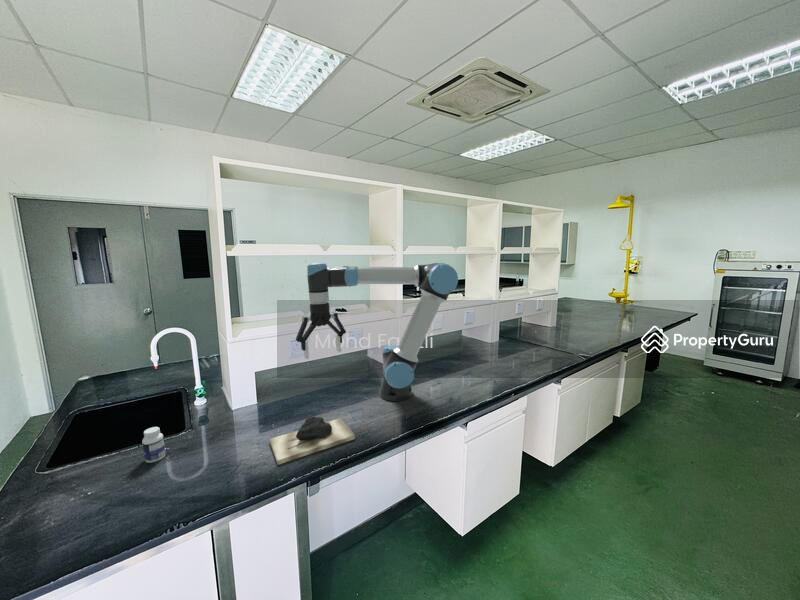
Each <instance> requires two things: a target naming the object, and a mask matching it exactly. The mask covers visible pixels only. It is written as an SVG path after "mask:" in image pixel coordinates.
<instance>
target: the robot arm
mask: <svg viewBox="0 0 800 600" xmlns="http://www.w3.org/2000/svg"><path fill="white" fill-rule="evenodd" d="M306 274H307V275H306V277H307V286H308V300H309V303H310V304H309V314H310V316H306V315H305V316H304V315H303V316H302V321H301V324H300V326H299V328H298V332H297V334H296V337H295V341H296V342H297V343H300V347H301V350H302V351H303V355H304V359H306V360H308V359H309V358H310V357H309V355H310V354H309V346H308V345H309V343H308V342H307V340H308V339H309V337H310V336H311V334H312V333H313V331H314V330H315V328H316V327H321V326H328V327H329V328H330V329H331V330H332V331H333V332H334V333H335V334H336V335H335V346H336V350H335V351H337V352H339V353H341V352H342V350H341V349H342V347H341V344H342V343H343V336H344V335H345V334H346V333H347V331H346V329H345V327H344V325H343V323H342V322H341V321H340V319H339V315H338V313H337V312H335V311H333V312H331V310H330V303H329V301H330V296H329V288H337V287H338V288H340V287H349V288H350V287H357V286H358V285H414V286H415V287H420V289H419V291H420V292H421V296H420V297H419V300H418V302H417V304H416V307H415V309H414V310H413V313H412V315H411V318H410V319H409V321H408V323H407V326H406V329H405V331H404V332H403V335H402V337H401V339H400V341H399V343H398V344H395V345H387V346H384V347H383V348H382V352H381V354H382V381H381V384H380V388H379V397H380V398H381V399H382V400H385V401H389V402H401V401H405V400H408V399H410V398H411V397H412V395H413V389H412V386H411V384H412V382H413V381H414V377H415V369H416V368H417V367H416V366H417V365H418V362H419V359H418V353H419V351H420V350H421V347H422V345H423V343H424V341H425V339H426V337H427V334H428V332H429V330H430V327H431V325H432V323H433V322H434V319H435V317H436V315H437V312H438V311H439V308H440V306H441V304H442V303H445V302H446V301H447V299H448V298H449V295H450V293H452V292H453V291H455V289H456V288H457V286H458V283H459V277H458V271H456V269H455V268H454V267H453V266H451V265H449V264H447V263H444V262H442V263H441V262H440V263H439V262H435V263H429V264H428V263H427V264H416V265H415V266H410V267H409V266H349V265H346V266H345V265H343V266H341V267H328V265H327V263H323V262H322V263H319V262H318V263H309V264H308V265H307V273H306ZM330 312H331V313H330ZM331 318H332V319H333V321H334V322H335V324H336V326H335V325H334V324H333V323H332V322H331V320H330V319H331ZM309 322H311V323H310V324H309V326H308V323H309ZM307 326H308V327H307ZM337 327H338V328H337ZM306 328H307V329H306Z"/></svg>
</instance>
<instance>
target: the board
mask: <svg viewBox="0 0 800 600" xmlns="http://www.w3.org/2000/svg"><path fill="white" fill-rule="evenodd" d="M325 423H329V424H330V425H331V426H332V432H331V433H330V434H329V435H328V436H327V437H325V438H324V437H322V438H314V439H309V440H301V441H300V440H298V439H297V438H296V435H297V433H298V431H299V429H298V430H295V431H292V432H289V433H286V434H281V435H279V436H275V437H272V438H271V437H270V438H269V439H268V440H269V445H270V447H271V450H272V453H273V456H274V458H275V461H276V464H277V466H279V465H282V464H284V463H288V462H291V461H293V460H297V459H299V458H300V459H301V458H302V457H306V456H308V455H312V454H314V453H317V452H320V451H323V450H326V449H329V448H332V447H335V446H339V445H342V444H345V443H347V442H350V441H353V440H355V439H356V435H355V433H354V432H353V431H352V429H350V427H348V425H347V424H346V423H345V422H344V420H342V419H341V418H337V419H333V420H329V421H326V422H325Z"/></svg>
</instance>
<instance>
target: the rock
mask: <svg viewBox="0 0 800 600" xmlns="http://www.w3.org/2000/svg"><path fill="white" fill-rule="evenodd" d="M324 420H325V419H324V418H323V417H319V416H309V417H308V418H306V419H305V421H304V422H303V424H301V426H300V428H299V429H298V430H299V431H298V430H297V431H298V433H297V435H296V438H297V439H298V440H300V441H301V440H309V439H314V438H322V437H324V438H325V437H327V436H328V435H329V434H330V433H331V432H332V426H331V425H330V424H329V423H326V422H325V421H324Z"/></svg>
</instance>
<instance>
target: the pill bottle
mask: <svg viewBox="0 0 800 600" xmlns="http://www.w3.org/2000/svg"><path fill="white" fill-rule="evenodd" d="M143 436H144V437H143V438H142V441H141V442H142V443H141V444H142V453H143V458H144V462H145V463H150V464H151V463H156V462H158V461H160V460H162V459H163V458H165V456H166V448H165V439H164V434H163V433H161V430H160V427H158V426H152V427H149V428H147V429H145V430H144V431H143Z"/></svg>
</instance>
